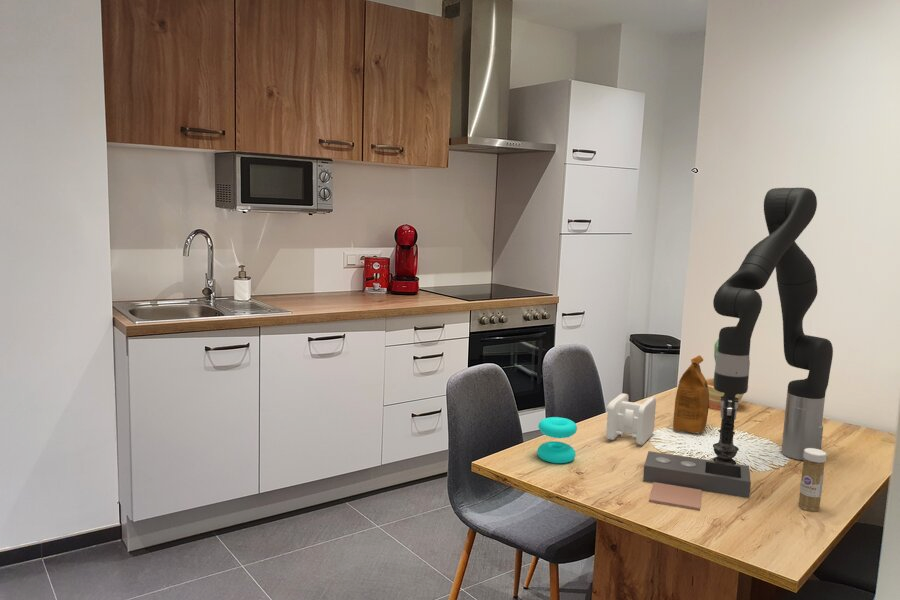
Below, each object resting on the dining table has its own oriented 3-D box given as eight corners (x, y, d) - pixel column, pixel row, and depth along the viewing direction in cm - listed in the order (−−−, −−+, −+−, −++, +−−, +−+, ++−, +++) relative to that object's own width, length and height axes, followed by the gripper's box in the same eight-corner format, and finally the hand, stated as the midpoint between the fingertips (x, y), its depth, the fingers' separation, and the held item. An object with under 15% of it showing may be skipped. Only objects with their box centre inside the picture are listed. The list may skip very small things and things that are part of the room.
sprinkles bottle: (795, 507, 162) (801, 450, 160) (801, 501, 165) (806, 445, 163) (817, 513, 159) (823, 456, 157) (822, 507, 162) (828, 450, 160)
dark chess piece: (739, 467, 169) (743, 418, 167) (713, 464, 170) (717, 416, 168) (735, 458, 175) (739, 410, 173) (709, 455, 176) (713, 408, 174)
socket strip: (747, 481, 176) (749, 465, 176) (749, 498, 166) (750, 481, 165) (647, 465, 184) (648, 450, 184) (643, 481, 174) (644, 464, 174)
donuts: (532, 422, 185) (548, 413, 194) (530, 459, 187) (547, 448, 195) (567, 430, 180) (583, 420, 188) (565, 468, 181) (581, 456, 190)
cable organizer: (640, 449, 197) (643, 408, 195) (603, 442, 202) (606, 402, 200) (654, 434, 210) (657, 396, 208) (619, 428, 215) (621, 390, 213)
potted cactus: (754, 407, 241) (760, 334, 238) (735, 416, 230) (742, 340, 226) (709, 397, 252) (715, 328, 248) (690, 406, 240) (696, 333, 237)
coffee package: (711, 426, 219) (717, 356, 216) (702, 437, 208) (708, 364, 205) (678, 420, 224) (684, 352, 221) (668, 431, 213) (673, 359, 210)
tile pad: (701, 492, 169) (701, 489, 169) (699, 510, 158) (700, 508, 158) (653, 484, 172) (653, 482, 172) (648, 501, 162) (648, 499, 162)
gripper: (750, 380, 161) (743, 453, 164) (748, 366, 174) (742, 434, 177) (714, 376, 164) (709, 448, 166) (715, 363, 177) (710, 430, 179)
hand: (726, 440), depth 172 cm, fingers closed on dark chess piece, 3 cm apart
